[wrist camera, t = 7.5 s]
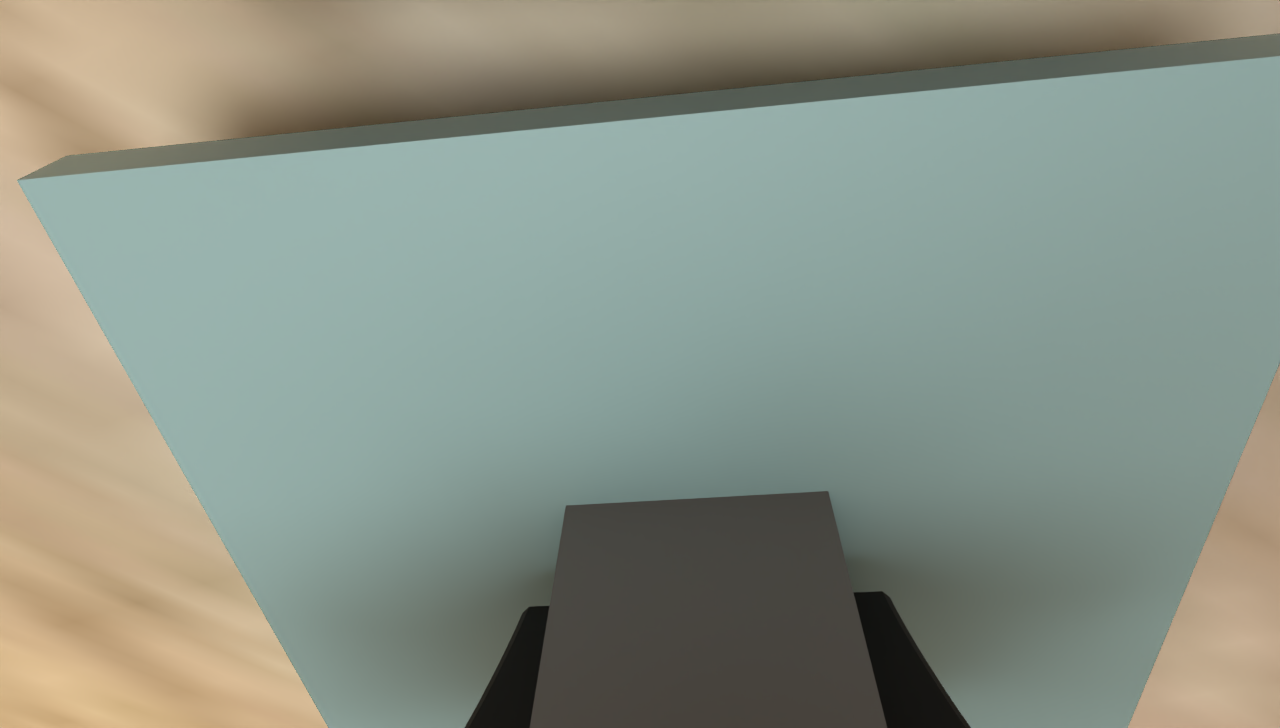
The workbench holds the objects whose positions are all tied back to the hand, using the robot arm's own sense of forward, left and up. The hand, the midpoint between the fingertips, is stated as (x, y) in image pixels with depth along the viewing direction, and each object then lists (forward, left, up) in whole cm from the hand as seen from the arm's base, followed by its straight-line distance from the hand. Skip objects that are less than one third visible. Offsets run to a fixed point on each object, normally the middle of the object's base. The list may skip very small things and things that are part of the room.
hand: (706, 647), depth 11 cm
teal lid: (0, 0, -2) cm, 2 cm away
